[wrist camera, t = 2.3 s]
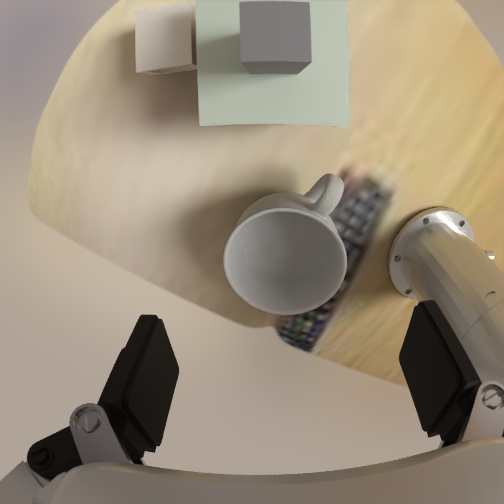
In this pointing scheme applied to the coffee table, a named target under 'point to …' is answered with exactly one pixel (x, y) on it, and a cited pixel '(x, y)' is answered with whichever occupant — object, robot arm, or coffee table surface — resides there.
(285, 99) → the lid
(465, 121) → the coffee table surface
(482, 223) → the coffee table surface
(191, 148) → the coffee table surface
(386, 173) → the coffee table surface
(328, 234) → the teacup
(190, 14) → the matte white cube
